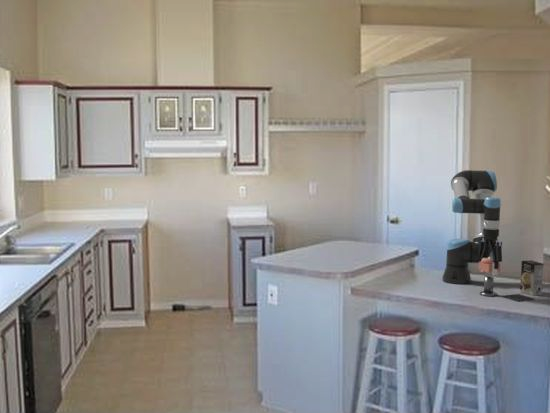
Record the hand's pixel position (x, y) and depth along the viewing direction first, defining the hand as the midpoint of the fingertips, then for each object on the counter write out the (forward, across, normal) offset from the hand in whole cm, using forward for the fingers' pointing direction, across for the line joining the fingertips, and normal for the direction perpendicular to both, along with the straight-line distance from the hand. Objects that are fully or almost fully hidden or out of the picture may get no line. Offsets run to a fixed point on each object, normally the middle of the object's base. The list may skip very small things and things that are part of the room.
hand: (489, 273), depth 322 cm
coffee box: (+11, +6, +23) cm, 26 cm away
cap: (-1, 0, 0) cm, 1 cm away
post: (+11, 0, 0) cm, 11 cm away
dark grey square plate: (+11, +12, +9) cm, 18 cm away
